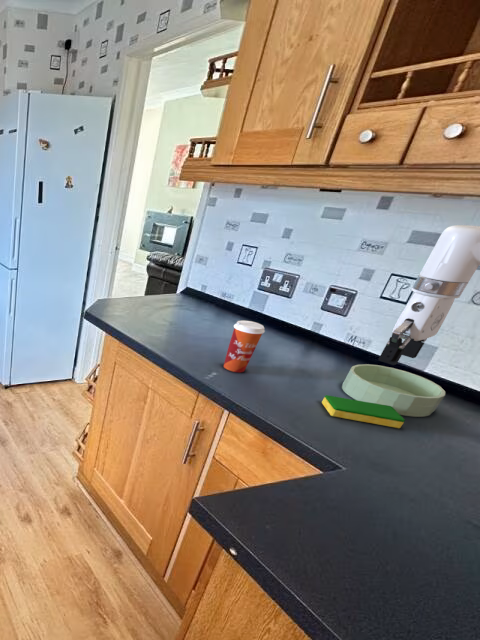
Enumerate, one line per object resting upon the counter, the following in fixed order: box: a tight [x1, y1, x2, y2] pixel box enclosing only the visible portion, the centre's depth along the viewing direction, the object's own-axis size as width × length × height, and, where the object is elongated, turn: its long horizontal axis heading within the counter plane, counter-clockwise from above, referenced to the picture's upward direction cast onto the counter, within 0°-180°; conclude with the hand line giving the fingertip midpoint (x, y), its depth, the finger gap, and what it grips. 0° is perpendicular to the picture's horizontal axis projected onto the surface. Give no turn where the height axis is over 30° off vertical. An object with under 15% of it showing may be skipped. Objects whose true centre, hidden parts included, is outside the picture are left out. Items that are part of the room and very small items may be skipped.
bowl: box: [341, 363, 446, 418], centre depth 109 cm, size 18×18×6 cm
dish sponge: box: [321, 394, 406, 429], centre depth 102 cm, size 7×14×2 cm, turn 69°
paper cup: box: [223, 320, 266, 373], centre depth 121 cm, size 8×8×14 cm
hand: (396, 359), depth 97 cm, fingers open, 8 cm apart
